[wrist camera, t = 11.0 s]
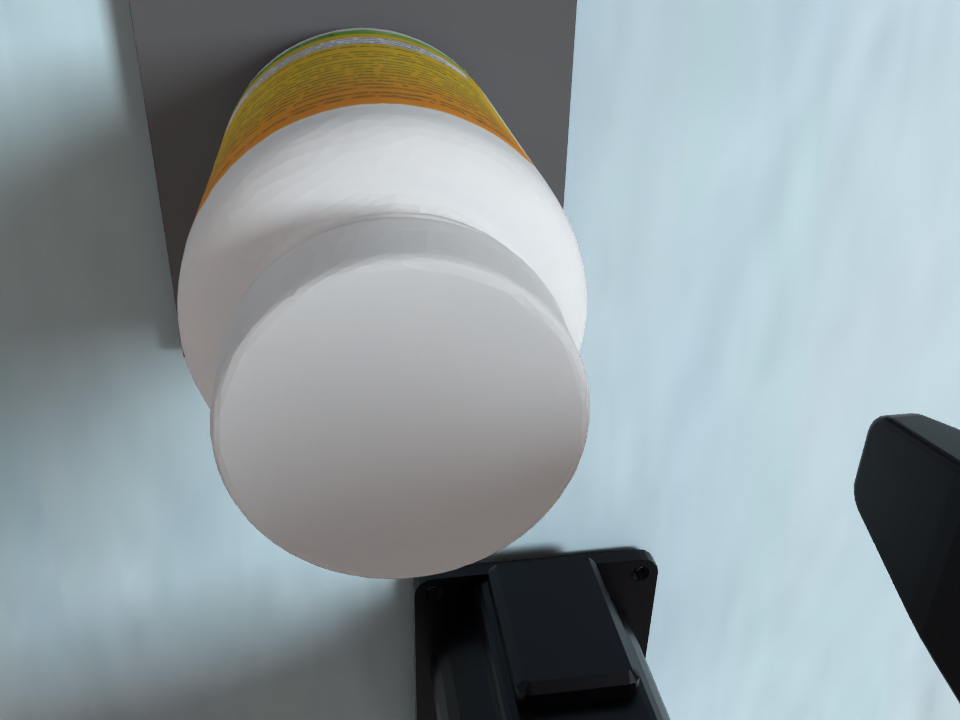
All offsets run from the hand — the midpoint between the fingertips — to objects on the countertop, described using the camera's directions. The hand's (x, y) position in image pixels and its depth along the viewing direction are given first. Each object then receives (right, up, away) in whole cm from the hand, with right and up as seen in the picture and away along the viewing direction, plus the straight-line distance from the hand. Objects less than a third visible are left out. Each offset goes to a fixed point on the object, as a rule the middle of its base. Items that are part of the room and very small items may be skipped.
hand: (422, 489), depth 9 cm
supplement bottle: (-2, +5, +10) cm, 11 cm away
